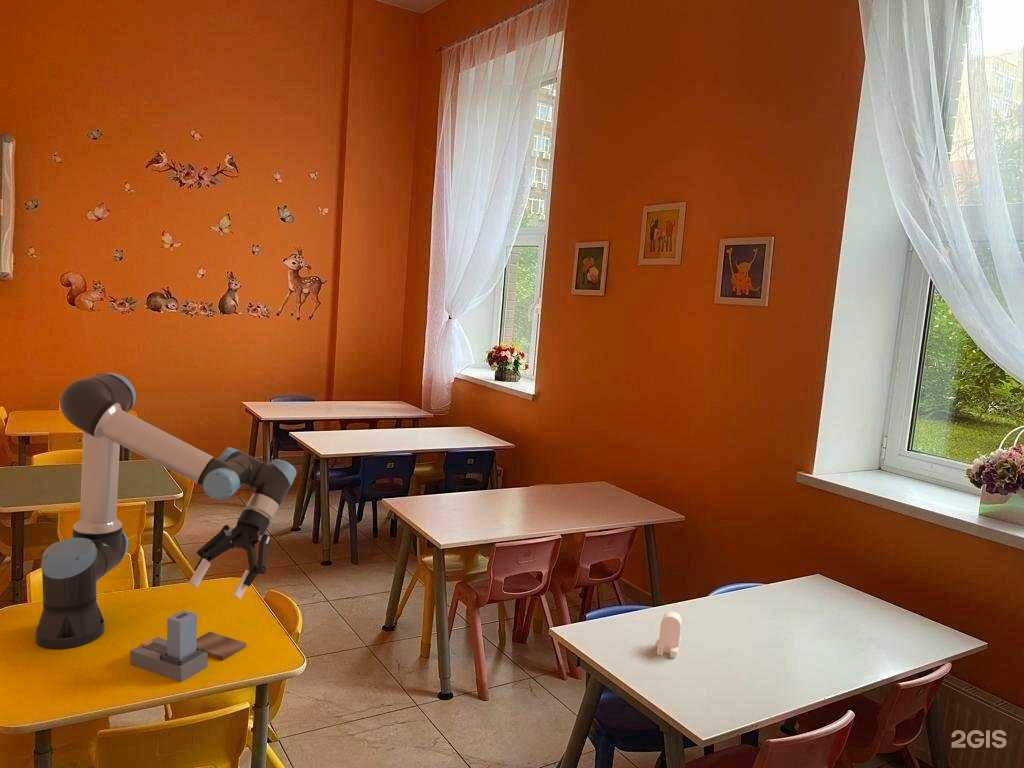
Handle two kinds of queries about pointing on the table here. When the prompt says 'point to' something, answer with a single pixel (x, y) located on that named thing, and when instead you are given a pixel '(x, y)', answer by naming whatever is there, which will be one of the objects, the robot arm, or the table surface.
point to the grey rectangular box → (167, 660)
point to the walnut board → (219, 645)
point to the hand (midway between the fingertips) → (214, 591)
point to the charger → (181, 634)
